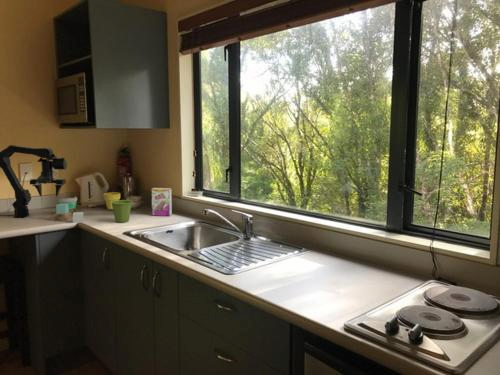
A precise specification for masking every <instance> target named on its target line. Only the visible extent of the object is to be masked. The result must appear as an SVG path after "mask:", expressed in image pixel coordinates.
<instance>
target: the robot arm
mask: <svg viewBox="0 0 500 375" xmlns="http://www.w3.org/2000/svg"><path fill="white" fill-rule="evenodd" d="M15 153H16V154H25V155H33V156H36V157H38V158H39V159H38V160H37V162H38V163H41V171H40V175H39V176H38V177H37V178H32V179H31V178H30V180H29V185H32V187H34V188H35V189H36V190H37V192H38V195H39V197H42V195H43V189H42V188H43V186H42V184H43V185H45V184H55V185H54V187H55V197H58V196H59V193H60V190H61V188H62V186H64V185H65V184H67V179H65V178H57V179H55V177H54V170H55V171H57V170H60V171H61V170H67V167H68V163H67V161H66V158H65V157H58V156H56V155H55V153H54V151H53V149H52V148H50V147H39V148H38V147H37V148H36V147H30V146H29V147H27V146H20V145H15V144H10V145H8V146H7V147H6V148H5V149H2V150H1V151H0V169H1V170H2V171H3V173H4V175H5V176H6V178H7V180H8V182H9V184H10V186H11V188H12V189H13V192H14V198H15V201H14V202H13V203H12V208H13V210H14V216H13V218H22V219H23V218H27V217H30V212H29V210H30V209H29V206H28V205H29V203H30V202H31V200H32V194H31V193H30V190H29V189H27V188H26V189H25V188H24V187H23V186H22V183H21V182H20V180H19V179H18V178H19V177H17V175H16V172H15V171H14V170H13V168H12V166H11V165H12V164H11V157H12V156H13V155H14V154H15Z"/></svg>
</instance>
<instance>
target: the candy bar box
mask: <svg viewBox="0 0 500 375" xmlns="http://www.w3.org/2000/svg"><path fill="white" fill-rule="evenodd" d="M150 192H151V193H150V194H151V216H152V217H154V216H155V217H171V216H172V215H173V213H172V212H173V211H172V208H173V206H172V204H173V203H172V198H173V197H172V188H171V187H169V188H167V187H166V188H165V187H152V188H151V191H150Z"/></svg>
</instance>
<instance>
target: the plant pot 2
mask: <svg viewBox="0 0 500 375" xmlns="http://www.w3.org/2000/svg"><path fill="white" fill-rule="evenodd" d="M133 202H134V201H133V200H129V199H121V200H120V199H119V200H117V201H111V203H112V207H113V209H112V211H113V215H114V221H115V222H116V223H128V222H129V220H130V214H131V210H132V209H131V207H132V204H133Z"/></svg>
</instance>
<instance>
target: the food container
mask: <svg viewBox="0 0 500 375" xmlns="http://www.w3.org/2000/svg"><path fill="white" fill-rule="evenodd" d="M77 201H78V197H77V196H76V195H75V196H74V197H66V198H57V200H56V202H57V205H58V204H68V208H69V212H71V214H72V215H73V213H75V212H77Z"/></svg>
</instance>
